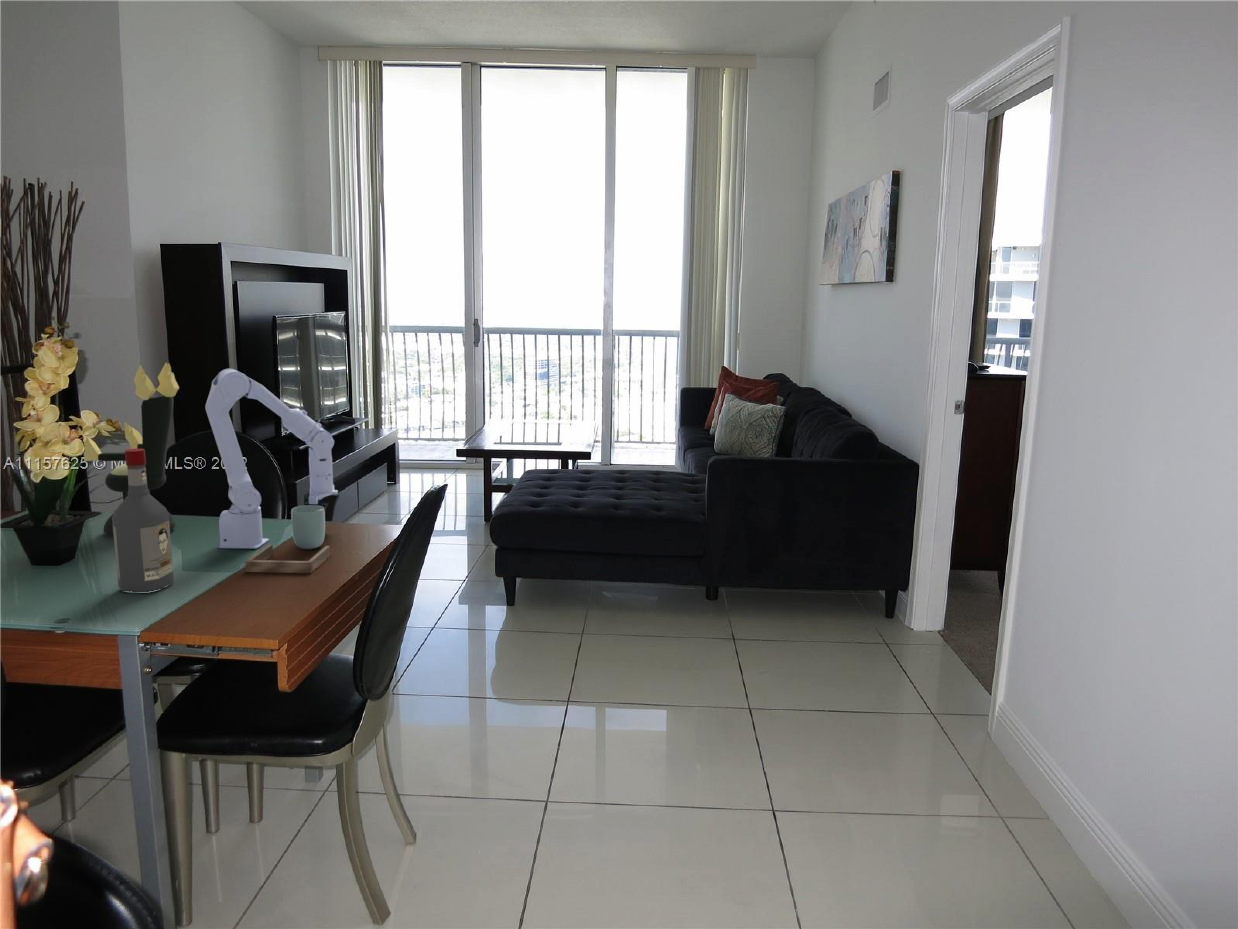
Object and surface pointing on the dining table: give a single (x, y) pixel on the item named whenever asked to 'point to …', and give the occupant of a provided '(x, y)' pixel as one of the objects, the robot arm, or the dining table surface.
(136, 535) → the liquor
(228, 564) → the dining table surface
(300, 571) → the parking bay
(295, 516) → the cup
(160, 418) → the flowering cactus
